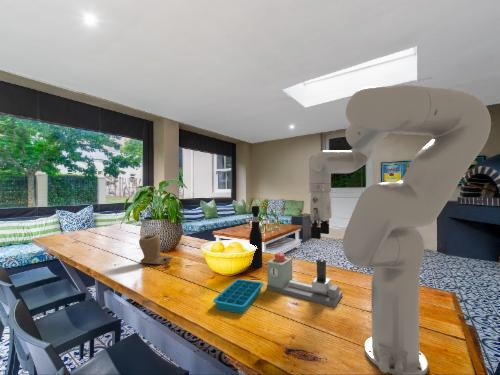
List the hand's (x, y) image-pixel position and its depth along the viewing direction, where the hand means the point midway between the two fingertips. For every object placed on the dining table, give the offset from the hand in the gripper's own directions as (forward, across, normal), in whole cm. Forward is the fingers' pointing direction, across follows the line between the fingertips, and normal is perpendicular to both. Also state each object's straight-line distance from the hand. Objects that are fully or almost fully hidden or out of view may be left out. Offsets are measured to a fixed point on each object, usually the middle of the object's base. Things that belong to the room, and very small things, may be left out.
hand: (320, 235), depth 87 cm
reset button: (+15, 0, +17) cm, 23 cm away
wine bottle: (+22, +15, +38) cm, 46 cm away
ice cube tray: (+23, -17, +24) cm, 37 cm away
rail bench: (+22, 0, +7) cm, 23 cm away
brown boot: (+22, -10, +86) cm, 89 cm away
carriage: (+20, 0, 0) cm, 20 cm away
